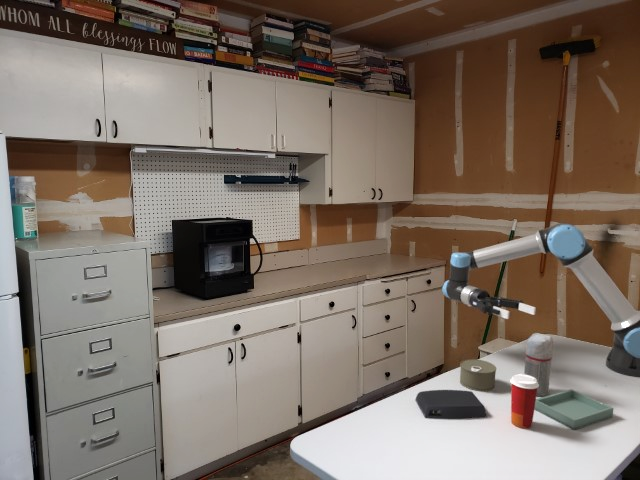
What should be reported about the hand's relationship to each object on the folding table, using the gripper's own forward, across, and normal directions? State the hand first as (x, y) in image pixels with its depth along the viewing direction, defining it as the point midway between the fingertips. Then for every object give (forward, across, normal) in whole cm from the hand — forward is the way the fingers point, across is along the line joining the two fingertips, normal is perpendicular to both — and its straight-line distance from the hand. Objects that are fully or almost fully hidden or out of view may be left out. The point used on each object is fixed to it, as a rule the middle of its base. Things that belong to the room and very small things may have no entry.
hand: (522, 313), depth 165 cm
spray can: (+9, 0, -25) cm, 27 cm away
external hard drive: (+4, +35, -27) cm, 44 cm away
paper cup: (+21, +22, -26) cm, 40 cm away
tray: (+24, +2, -25) cm, 34 cm away
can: (-5, +13, -26) cm, 30 cm away
